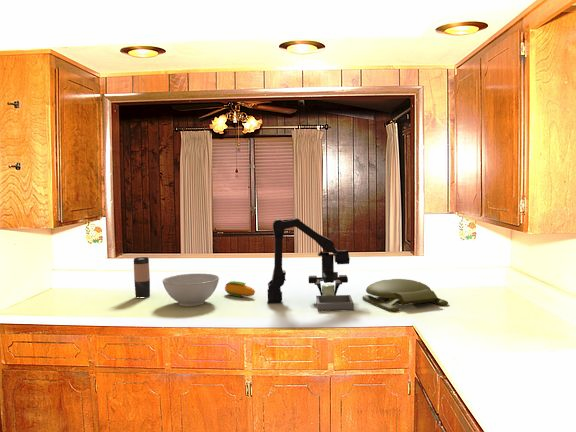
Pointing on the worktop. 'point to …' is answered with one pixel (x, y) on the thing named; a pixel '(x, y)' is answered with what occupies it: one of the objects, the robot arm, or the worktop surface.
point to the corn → (239, 289)
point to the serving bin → (335, 303)
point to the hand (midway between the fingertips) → (328, 296)
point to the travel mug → (142, 277)
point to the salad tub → (327, 289)
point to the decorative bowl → (191, 288)
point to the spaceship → (400, 293)
